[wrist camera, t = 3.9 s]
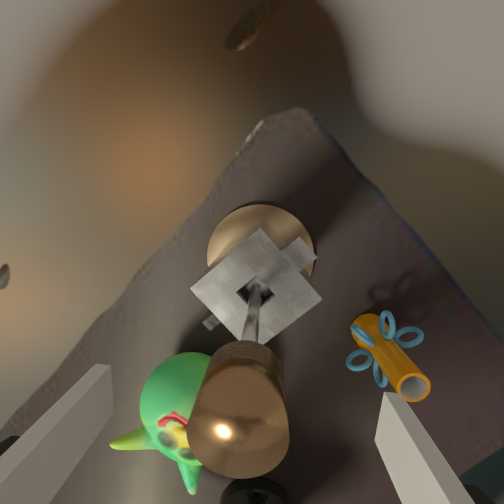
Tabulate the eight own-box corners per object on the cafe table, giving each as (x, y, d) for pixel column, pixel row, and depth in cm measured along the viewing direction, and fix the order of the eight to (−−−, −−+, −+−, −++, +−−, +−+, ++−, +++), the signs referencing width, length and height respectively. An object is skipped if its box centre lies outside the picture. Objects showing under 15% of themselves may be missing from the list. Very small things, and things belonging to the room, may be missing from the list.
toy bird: (267, 379, 50) (267, 452, 36) (212, 433, 53) (191, 521, 39) (193, 320, 48) (161, 371, 34) (141, 379, 52) (92, 449, 37)
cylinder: (340, 294, 46) (375, 339, 31) (402, 296, 45) (467, 344, 31) (334, 357, 48) (363, 427, 34) (393, 361, 48) (448, 433, 33)
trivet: (335, 263, 45) (336, 264, 44) (255, 326, 48) (255, 328, 47) (265, 181, 43) (265, 180, 42) (186, 252, 46) (185, 253, 45)
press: (313, 252, 44) (341, 285, 27) (243, 309, 46) (230, 369, 30) (274, 206, 43) (278, 211, 26) (204, 267, 45) (169, 306, 29)
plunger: (299, 289, 30) (355, 449, 11) (253, 325, 32) (231, 526, 12) (259, 243, 30) (244, 329, 10) (214, 282, 31) (123, 424, 11)
